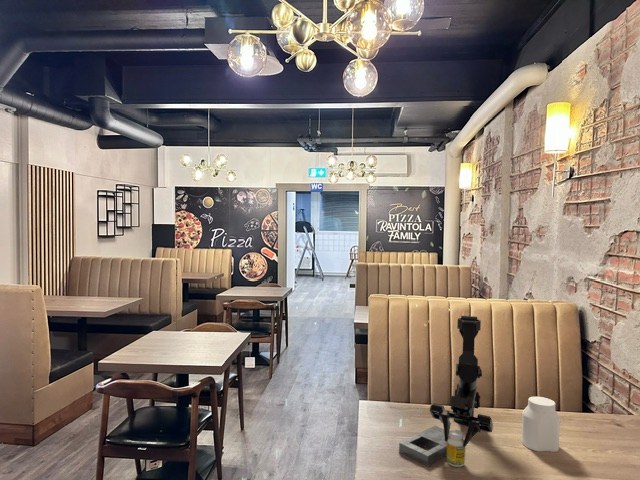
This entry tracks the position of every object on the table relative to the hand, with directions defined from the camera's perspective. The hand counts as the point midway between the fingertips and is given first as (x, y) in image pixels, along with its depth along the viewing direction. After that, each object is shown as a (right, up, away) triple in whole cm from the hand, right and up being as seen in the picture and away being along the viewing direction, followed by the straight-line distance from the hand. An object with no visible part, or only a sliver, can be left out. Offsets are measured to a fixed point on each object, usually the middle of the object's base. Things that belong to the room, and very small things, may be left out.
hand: (454, 443), depth 141 cm
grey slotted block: (-5, -6, +9) cm, 13 cm away
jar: (+33, -7, +15) cm, 37 cm away
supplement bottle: (+1, -7, +1) cm, 7 cm away
